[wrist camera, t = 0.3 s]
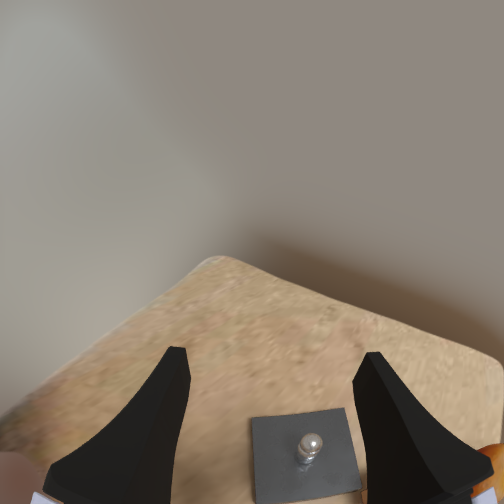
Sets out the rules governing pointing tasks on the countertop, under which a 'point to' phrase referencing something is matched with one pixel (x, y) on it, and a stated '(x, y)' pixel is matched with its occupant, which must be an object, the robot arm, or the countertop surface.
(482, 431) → the countertop surface
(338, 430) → the post base
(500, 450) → the fruit
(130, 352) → the countertop surface
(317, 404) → the countertop surface
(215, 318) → the countertop surface
